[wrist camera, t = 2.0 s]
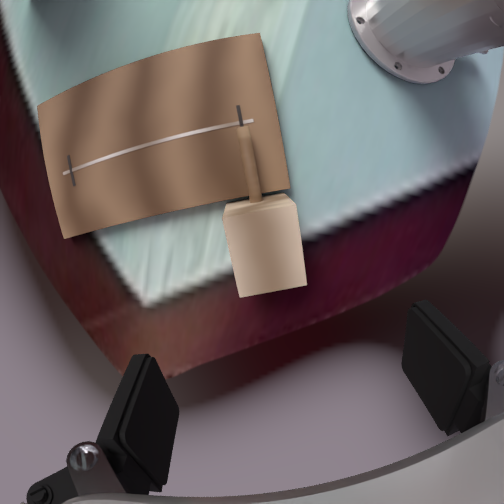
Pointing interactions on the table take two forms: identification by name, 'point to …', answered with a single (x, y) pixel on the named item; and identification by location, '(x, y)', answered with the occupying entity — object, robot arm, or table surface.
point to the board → (161, 135)
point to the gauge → (263, 234)
